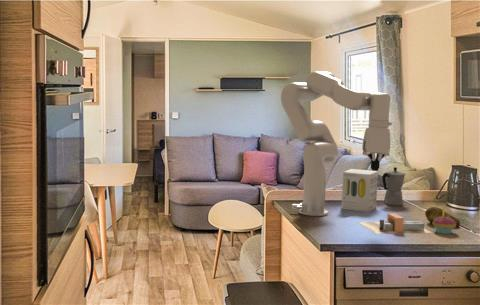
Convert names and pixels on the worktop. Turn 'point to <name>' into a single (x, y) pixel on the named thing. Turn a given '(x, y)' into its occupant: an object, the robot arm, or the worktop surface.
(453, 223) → the cupcake
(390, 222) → the jaw
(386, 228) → the fixed jaw
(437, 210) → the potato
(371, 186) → the supplement box
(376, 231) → the board
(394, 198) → the coffeepot
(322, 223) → the worktop surface
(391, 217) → the lock collar
